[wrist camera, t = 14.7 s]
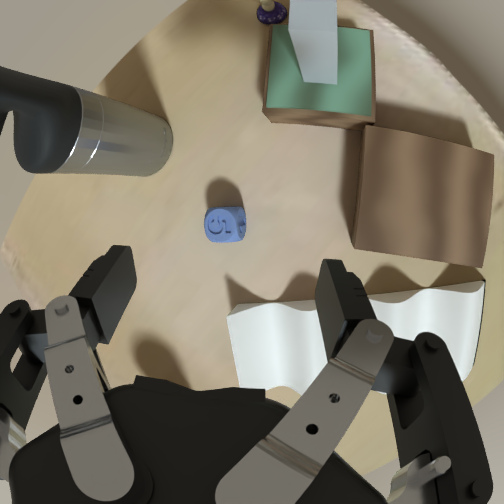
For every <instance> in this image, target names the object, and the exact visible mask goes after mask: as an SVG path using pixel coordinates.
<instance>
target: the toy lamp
mask: <svg viewBox="0 0 504 504" xmlns="http://www.w3.org/2000/svg"><path fill="white" fill-rule="evenodd" d="M259 1H260V3H261V6H260V7H259V8H258V10H257V18H258V20H259V21H260V22H262V23H264V24H268V25H270V24H278V23H280V22H282V21H283V20H284V19H285V18H286V16H287V10H286V8H285V7H284V6H283V5H282V4H280V3H278V2H273V0H259Z"/></svg>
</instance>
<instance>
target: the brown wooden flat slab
mask: <svg viewBox="0 0 504 504" xmlns="http://www.w3.org/2000/svg"><path fill="white" fill-rule="evenodd" d="M493 180H494V155H493V154H490V153H487V152H484V151H480V150H477V149H474V148H470V147H467V146H464V145H460V144H456V143H453V142H449V141H445V140H441V139H437V138H433V137H428V136H424V135H419V134H415V133H410V132H405V131H399V130H394V129H389V128H383V127H377V126H370V125H366V126H365V128H364V130H363V132H362V134H361V147H360V163H359V176H358V187H357V197H356V207H355V215H354V224H353V232H352V239H351V243H352V245H353V247H354V249H359V250H366V251H373V252H380V253H386V254H393V255H400V256H407V257H413V258H420V259H427V260H433V261H440V262H446V263H452V264H459V265H465V266H471V267H477V268H482V266H483V261H484V256H485V251H486V245H487V239H488V232H489V225H490V217H491V208H492V196H493Z"/></svg>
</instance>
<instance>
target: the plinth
mask: <svg viewBox="0 0 504 504" xmlns="http://www.w3.org/2000/svg"><path fill="white" fill-rule="evenodd" d="M288 27H289V24H270V30H269V42H268V53H267V64H266V75H265V86H264V97H263V108H262V112H263V113H264V114H265V116H266V117H267V118H268V119H269V120H270V122H271V123H288V124H303V125H315V126H325V127H335V128H344V129H352V130H359V131H363V130H364V128H365V126H366V125H370V126H373V125H374V123H375V112H376V82H375V53H374V36H373V30H368V29H361V28H353V27H344V26H337V37H338V65H337V85H336V84H325V83H312V82H304V80H303V77H302V73H301V70H300V66H299V63H298V59H297V56H296V53H295V49H294V46H293V43H292V40H291V36H290V33H289V30H288Z"/></svg>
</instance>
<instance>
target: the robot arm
mask: <svg viewBox="0 0 504 504" xmlns="http://www.w3.org/2000/svg"><path fill="white" fill-rule="evenodd" d="M12 110H13V115H14V150H15V154H16V158H17V160H18V162H19V164H20V166H21V167H22V168H23V169H24V170H26V171H27V172H30V173H64V174H70V173H74V174H107V175H126V176H149V175H152V174H154V173H156V172H157V171H158V170H160V169H161V168H162V167H163V166H164V164H165V163H166V161H167V160H168V158H169V156H170V153H171V150H172V145H173V137H172V131H171V129H170V126H169V125H168V123H167V122H166V121H165V120H164V119H163V118H161V117H159V116H156V115H154V114H151V113H149V112H146V111H144V110H141V109H139V108H136V107H133V106H130V105H128V104H125V103H122V102H119V101H117V100H114V99H111V98H108V97H105V96H102V95H99V94H96V93H93V92H89V91H86V90H83V89H80V88H77V87H73V86H70V85H66V84H62V83H59V82H55V81H51V80H47V79H43V78H39V77H36V76H32V75H28V74H24V73H21V72H18V71H14V70H11V69H7V68H4V67H1V66H0V135H1V132H2V129H3V125H4V122H5V120H6V117H7V114H8V112H9V111H12ZM136 283H137V277H136V271H135V266H134V260H133V254H132V249H131V247H130V246H122V245H113V246H112V247H111V248H110V249H109V250H108V252H107V253H106V254H105V256H101V257H99V258H98V259H96V260H95V261H93V262H92V264H91V265H90V266H89V268H88V269H87V270H86V272H85V273H84V274H83V277H81V278H80V280H79V281H78V282H77V284H76V285H75V286H74V288H73V289H72V291H71V292H70V293H69V295H68V296H60V297H57V298H55V299H53V300H52V301H51V302H49V304H48V305H47V306H46V308H45V309H42V310H31V308H30V306H29V304H28V302H27V301H25V300H16V301H13V302H11V303H10V304H8V305H7V306H6V307H5V308H4V310H3V311H2V313H1V314H0V480H6V481H8V482H9V485H10V490H11V497H12V504H487V503H488V501H489V499H490V498H491V495H492V492H493V481H492V476H491V472H490V468H489V463H488V460H487V456H486V452H485V448H484V445H483V441H482V438H481V434H480V431H479V428H478V425H477V422H476V419H475V416H474V413H473V410H472V407H471V404H470V401H469V399H468V396H467V393H466V391H465V388H464V385H463V383H462V380H461V378H460V375H459V373H458V371H457V368H456V366H455V363H454V361H453V359H452V357H451V354H450V352H449V350H448V348H447V345H446V343H445V342H444V341H443V339H442V338H440V337H439V336H438V335H436V334H434V333H431V332H421V333H419V334H418V335H417V336H416V338H415V339H414V341H412V340H407V339H403V338H398V337H395V336H394V334H393V332H392V330H391V328H390V327H389V326H388V325H386V324H385V323H383V322H382V321H379V320H377V317H376V315H375V312H374V310H373V308H372V305H371V303H370V300H369V298H368V297H367V293H366V291H365V290H364V287H363V284H362V282H361V280H360V279H359V278H358V277H357V276H356V275H355V274H354V273H353V272H347V271H346V269H345V266H344V264H343V262H342V260H336V259H323V261H322V264H321V268H320V273H319V277H318V282H317V286H316V291H315V304H316V309H317V313H318V318H319V322H320V327H321V332H322V337H323V342H324V347H325V352H326V357H327V362H328V363H327V364H326V365H325V367H324V368H323V369H322V371H321V372H320V373H319V375H318V376H317V377H316V378H315V380H314V381H313V382H312V384H311V385H310V386H309V387H308V389H307V390H306V391H305V392H304V394H303V395H302V396H301V397H300V399H299V400H298V401H297V402H296V403H295V405H294V406H293V407H292V408H291V409H290V408H289V407H287V406H285V405H283V404H281V403H279V402H277V401H274V400H271V399H268V398H265V389H256V388H238V387H230V388H222V389H215V390H206V391H195V390H192V389H189V388H186V387H183V386H181V385H178V384H175V383H172V382H170V381H167V380H163V379H156V378H150V377H144V376H138V375H136V378H135V381H134V384H128V385H122V386H118V387H115V388H113V389H111V387H110V384H109V382H108V379H107V377H106V374H105V371H104V369H103V366H102V363H101V360H100V357H99V354H98V352H97V349H96V346H97V344H98V343H103V344H109V342H110V340H111V338H112V336H113V334H114V331H115V329H116V327H117V325H118V323H119V321H120V319H121V317H122V315H123V313H124V311H125V309H126V307H127V305H128V303H129V301H130V299H131V297H132V295H133V293H134V291H135V288H136ZM18 347H19V349H20V351H21V352H22V355H21V357H20V359H19V361H18V363H17V365H16V367H15V369H14V371H13V373H12V372H11V369H10V362H11V359H12V357H13V355H14V354H15V352H16V350H17V348H18ZM47 373H48V378H49V383H50V388H51V393H52V397H53V402H54V406H55V410H56V414H57V418H58V421H59V423H58V424H57V425H55V426H54V427H52V428H51V429H49V430H48V431H46V432H44V433H43V434H41V435H40V436H38V437H37V438H35V439H34V440H32V441H30V442H29V443H26V434H25V429H26V426H27V423H28V420H29V418H30V415H31V412H32V410H33V407H34V404H35V402H36V399H37V397H38V395H39V392H40V390H41V387H42V385H43V383H44V380H45V378H46V376H47ZM370 390H374V391H379V392H384V393H386V394H387V399H388V403H389V408H390V413H391V417H392V422H393V427H394V433H395V438H396V444H397V449H398V456H399V461H400V468H401V469H400V470H399V471H397V472H396V474H395V475H394V476H393V478H392V481H391V490H390V494H389V497H388V499H387V500H386V499H385V498H384V496H383V495H381V493H380V492H379V491H377V490H376V489H375V488H374V487H373V486H372V485H371V484H369V483H368V482H367V481H366V480H365V479H364V478H363V477H362V476H361V475H359V474H358V473H357V472H356V471H355V470H354V469H353V468H352V467H351V466H350V465H349V464H348V463H347V462H345V461H344V460H343V459H342V458H341V457H340V456H339V455H338V454H337V453H336V452H335V451H334V449H335V448H336V446H337V445H338V443H339V442H340V440H341V439H342V437H343V435H344V434H345V432H346V431H347V429H348V428H349V426H350V424H351V423H352V421H353V419H354V418H355V416H356V414H357V413H358V411H359V409H360V407H361V406H362V404H363V402H364V400H365V399H366V397H367V395H368V393H369V391H370Z"/></svg>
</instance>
